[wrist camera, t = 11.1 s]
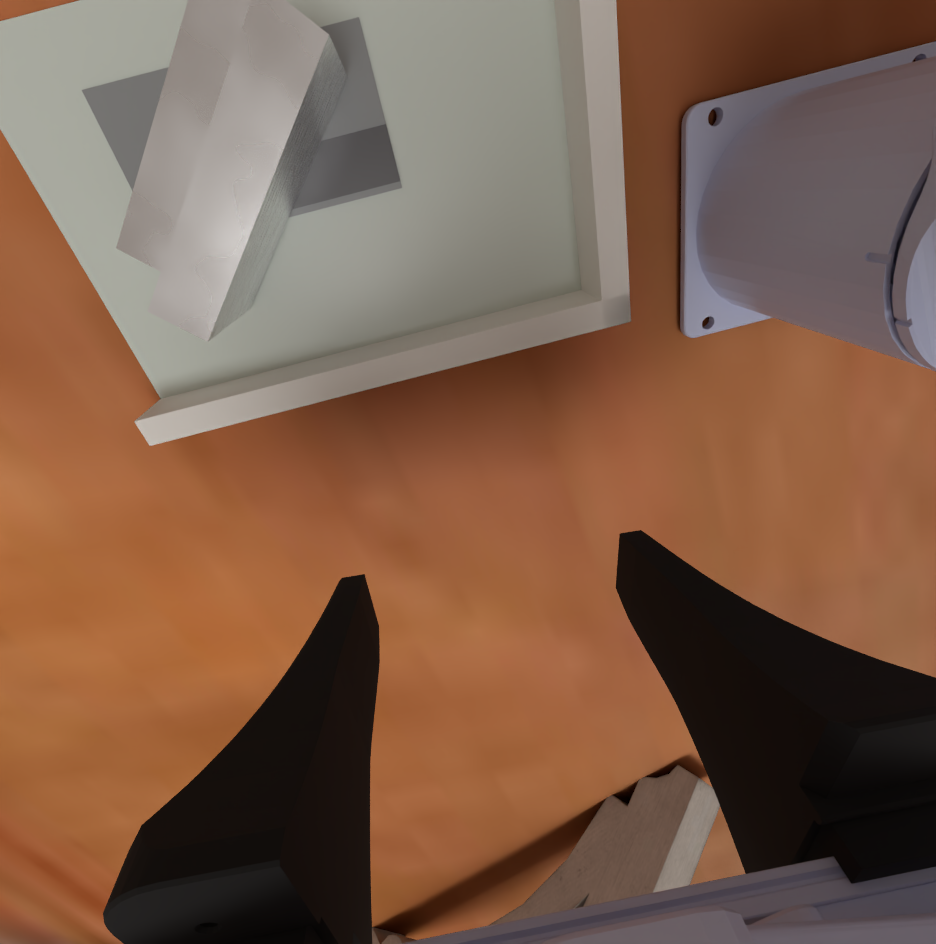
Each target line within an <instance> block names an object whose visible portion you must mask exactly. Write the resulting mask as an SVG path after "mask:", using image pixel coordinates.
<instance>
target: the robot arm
mask: <svg viewBox="0 0 936 944" xmlns="http://www.w3.org/2000/svg"><path fill="white" fill-rule="evenodd" d="M914 58H915V60H916V61H915V62H912V61H913V60H914ZM712 109H714V110H715V111H716V115H717V118H716V122H715V123H714V124H713V126H711V125H710V124H709V122H708V116H709V113H710V112H711V110H712ZM708 316H709V322H708V324H707V325H706V326H704V327H702V322H703V320H704V319H705V318H706V317H708ZM769 318H776V319H779V320H782V321H785V322H788V323H791V324H794V325H797V326H800V327H804V328H807V329H810V330H813V331H816V332H819V333H822V334H825V335H828V336H831V337H834V338H837V339H840V340H843V341H846V342H849V343H852V344H855V345H858V346H861V347H864V348H867V349H870V350H873V351H877V352H880V353H883V354H886V355H889V356H892V357H895V358H898V359H901V360H904V361H907V362H910V363H913V364H916V365H919V366H922V367H925V368H928V369H931V370H933V371H936V41H935V42H931V43H927V44H923V45H920V46H916V47H912V48H908V49H904V50H900V51H897V52H893V53H889V54H885V55H881V56H877V57H874V58H870V59H866V60H862V61H858V62H854V63H851V64H847V65H843V66H839V67H835V68H831V69H828V70H824V71H820V72H816V73H812V74H808V75H805V76H801V77H797V78H793V79H789V80H785V81H782V82H778V83H774V84H770V85H766V86H762V87H759V88H755V89H751V90H747V91H743V92H740V93H736V94H732V95H728V96H724V97H720V98H717V99H713V100H709V101H705V102H701V103H698V104H695V105H693V106H691V107H690V108H689V109H688V110H687V111H686V113H685V115H684V117H683V120H682V138H681V291H680V328H681V332H682V333H683V334H684V335H686V336H688V337H690V338H696V337H700V336H703V335H707V334H711V333H715V332H719V331H723V330H727V329H731V328H735V327H738V326H742V325H746V324H750V323H754V322H758V321H762V320H766V319H769ZM616 589H617V592H618V594H619V597H620V599H621V602H622V604H623V607H624V609H625V611H626V614H627V616H628V618H629V620H630V622H631V624H632V626H633V628H634V629H635V631H636V633H637V635H638V636H639V638H640V640H641V642H642V644H643V645H644V647H645V649H646V651H647V652H648V654H649V656H650V658H651V659H652V661H653V663H654V664H655V666H656V668H657V670H658V671H659V673H660V675H661V677H662V678H663V680H664V682H665V684H666V685H667V687H668V689H669V691H670V693H671V695H672V696H673V698H674V700H675V702H676V704H677V706H678V708H679V711H680V713H681V715H682V717H683V719H684V722H685V724H686V726H687V728H688V731H689V733H690V735H691V737H692V739H693V742H694V744H695V746H696V749H697V751H698V753H699V756H700V758H701V760H702V763H703V765H704V767H705V770H706V772H707V774H708V777H709V779H710V782H711V784H712V787H713V789H714V792H715V794H716V797H717V799H718V802H719V804H720V807H721V809H722V812H723V814H724V817H725V819H726V822H727V824H728V827H729V830H730V832H731V835H732V838H733V840H734V843H735V846H736V849H737V851H738V854H739V857H740V859H741V862H742V865H743V867H744V870H745V873H746V874H743V875H738V876H733V877H728V878H723V879H718V880H713V881H708V882H703V883H698V884H693V885H688V886H684V887H679V888H674V889H669V890H664V891H659V892H654V893H649V894H644V895H639V896H634V897H629V898H624V899H619V900H614V901H609V902H604V903H599V904H594V905H589V906H584V907H579V908H574V909H569V910H564V911H559V912H555V913H550V914H545V915H540V916H535V917H530V918H525V919H520V920H515V921H510V922H505V923H500V924H495V925H490V926H485V927H480V928H475V929H470V930H465V931H460V932H455V933H450V934H445V935H440V936H435V937H430V938H426V939H421V940H416V941H411V942H406V943H401V944H936V678H935V677H931V676H928V675H925V674H922V673H919V672H916V671H913V670H910V669H906V668H903V667H900V666H897V665H894V664H891V663H888V662H884V661H882V660H879V659H876V658H873V657H871V656H868V655H865V654H862V653H860V652H857V651H854V650H852V649H849V648H846V647H844V646H841V645H839V644H836V643H834V642H832V641H829V640H827V639H824V638H822V637H820V636H817V635H815V634H813V633H811V632H808V631H806V630H804V629H802V628H799V627H797V626H795V625H793V624H791V623H789V622H787V621H784V620H782V619H780V618H778V617H776V616H774V615H773V614H771V613H769V612H767V611H765V610H763V609H761V608H759V607H757V606H755V605H753V604H752V603H750V602H748V601H746V600H744V599H743V598H741V597H739V596H738V595H736V594H734V593H733V592H731V591H729V590H728V589H726V588H724V587H723V586H721V585H719V584H718V583H716V582H715V581H713V580H712V579H710V578H708V577H707V576H705V575H704V574H702V573H701V572H699V571H698V570H696V569H695V568H693V567H692V566H691V565H689V564H688V563H686V562H685V561H683V560H682V559H680V558H679V557H678V556H676V555H675V554H673V553H672V552H671V551H669V550H668V549H666V548H665V547H664V546H662V545H661V544H660V543H658V542H657V541H655V540H654V539H653V538H651V537H650V536H648V535H647V534H646V533H644V532H643V531H641V530H639V531H633V532H627V533H621V534H620V538H619V551H618V565H617V578H616ZM379 662H380V660H379V625H378V621H377V618H376V614H375V611H374V607H373V603H372V600H371V596H370V593H369V589H368V585H367V582H366V578H365V575H364V574H363V575H357V576H351V577H345V578H342V579H341V580H340V581H339V583H338V585H337V587H336V589H335V591H334V593H333V595H332V597H331V599H330V601H329V603H328V605H327V606H326V608H325V610H324V612H323V614H322V616H321V617H320V619H319V621H318V623H317V624H316V626H315V628H314V630H313V631H312V633H311V635H310V636H309V638H308V640H307V641H306V643H305V645H304V646H303V648H302V649H301V651H300V652H299V654H298V655H297V657H296V658H295V660H294V662H293V663H292V665H291V666H290V668H289V669H288V671H287V672H286V673H285V675H284V676H283V678H282V679H281V680H280V682H279V683H278V685H277V686H276V687H275V689H274V690H273V691H272V693H271V694H270V695H269V696H268V698H267V699H266V700H265V702H264V703H263V704H262V705H261V707H260V708H259V709H258V710H257V711H256V713H255V714H254V715H253V716H252V717H251V719H250V720H249V721H248V722H247V723H246V725H245V726H244V727H243V728H242V729H241V730H240V731H239V733H238V734H237V735H236V736H235V737H234V738H233V739H232V740H231V741H230V743H229V744H228V745H227V746H226V747H225V748H224V749H223V750H222V751H221V752H220V753H219V754H218V755H217V756H216V757H215V758H214V759H213V760H212V761H211V762H210V763H209V764H208V765H207V766H206V767H205V768H204V769H203V770H202V771H201V772H200V773H199V774H198V775H197V776H196V777H195V778H194V779H193V780H192V781H191V782H190V783H189V784H188V785H187V786H186V787H184V788H183V789H182V790H181V791H180V792H179V793H178V794H177V795H176V796H174V797H173V798H172V799H171V800H170V801H169V802H168V803H167V804H165V805H164V806H163V807H162V808H161V809H160V810H159V811H158V812H156V813H155V814H154V815H153V816H152V817H151V818H150V819H148V820H147V821H146V822H145V823H144V824H143V825H142V826H141V828H140V830H139V832H138V834H137V836H136V838H135V840H134V842H133V844H132V846H131V848H130V850H129V852H128V854H127V857H126V859H125V861H124V864H123V866H122V868H121V871H120V873H119V876H118V878H117V881H116V883H115V886H114V888H113V890H112V893H111V895H110V898H109V900H108V903H107V905H106V907H105V910H104V912H103V917H104V923H105V925H106V927H107V928H108V930H109V931H110V932H111V933H112V934H113V935H114V936H115V937H116V938H118V939H119V940H120V941H121V942H123V943H124V944H372V918H371V876H370V756H371V741H372V732H373V722H374V712H375V703H376V693H377V683H378V673H379Z"/></svg>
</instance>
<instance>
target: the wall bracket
mask: <svg viewBox="0 0 936 944" xmlns="http://www.w3.org/2000/svg"><path fill="white" fill-rule="evenodd" d="M719 807H720V804H719V802H718V799H717V797H716V794H715V792H714V789H713V788H712V787H711V786H709V785H708V784H707V783H705V782H704V781H703V780H701V779H700V778H698V777H697V776H695V775H694V774H692V773H690V772H689V771H687V770H686V769H684V768H682V767H681V766H679V765H677V766H676V767H675V768H674V769H673V770H672V771H671V772H670V773H669V774H667V775H664V776H661V777H658V778H651V777H644V778H642V779H640V780H639V781H638V784H637V786H636V788H635V790H634V793H633V795H632V797H631V799H630V802H629V804H627V803H625V802H624V801H622V800H620V799H618V798H617V797H615V796H613V795H611V796H609V797H607V798H606V799H605V801H604V803H603V804H602V806H601V807H600V809H599V810H598V812H597V813H596V815H595V817H594V818H593V820H592V821H591V823H590V824H589V826H588V827H587V829H586V830H585V832H584V834H583V835H582V837H581V838H580V840H579V841H578V843H577V844H576V846H575V848H574V849H573V851H572V852H571V854H570V855H569V857H568V858H567V860H566V861H565V862H564V863H563V864H562V865H561V866H560V867H559V868H558V869H557V870H556V871H555V872H554V873H553V874H552V875H551V876H550V877H549V878H548V879H547V880H546V881H545V882H544V883H543V884H542V885H541V886H540V887H539V888H538V889H537V890H536V891H535V892H534V893H533V894H532V895H531V896H530V897H529V898H528V899H527V900H526V901H525V902H524V903H523V904H522V905H521V906H519V907H518V908H516V909H514V910H513V911H511V912H509V913H508V914H506V915H505V916H503V917H501V918H500V919H498V920H496V921H495V922H493V923H492V924H490V925H495V924H500V923H505V922H510V921H515V920H520V919H525V918H530V917H535V916H540V915H545V914H550V913H555V912H559V911H564V910H569V909H574V908H579V907H584V906H589V905H594V904H599V903H604V902H609V901H614V900H619V899H624V898H629V897H634V896H639V895H644V894H649V893H654V892H659V891H664V890H669V889H674V888H679V887H684V886H688V885H690V883H691V880H692V877H693V875H694V872H695V870H696V867H697V864H698V862H699V859H700V857H701V854H702V851H703V849H704V846H705V844H706V841H707V838H708V836H709V833H710V831H711V828H712V825H713V823H714V820H715V818H716V815H717V812H718V810H719ZM490 925H488V926H490ZM411 941H416V940H415V939H411V938H407V937H406V936H405V935H401V934H397V933H394V932H390V931H386V930H382V929H378V928H374V927H372V944H401V943H406V942H411Z"/></svg>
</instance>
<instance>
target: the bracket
mask: <svg viewBox="0 0 936 944" xmlns="http://www.w3.org/2000/svg"><path fill="white" fill-rule="evenodd" d="M347 77H348V76H347V74H346V72H345V69H344V67H343V65H342V63H341V60H340V58H339V56H338V54H337V51H336V49H335V47H334V45H333V42H332V40H331V38H330V36H329V34H328V33H326V32H325V31H324V30H323V29H321V28H320V27H319V26H318V25H316V24H315V23H314V22H312V21H311V20H310V19H309V18H307V17H306V16H305V15H304V14H302V13H301V12H300V11H299V10H297V9H296V8H295V7H293V6H292V5H291V4H290V3H288V2H287V1H286V0H188V2H187V6H186V9H185V12H184V16H183V19H182V23H181V26H180V30H179V33H178V37H177V40H176V43H175V47H174V50H173V54H172V57H171V61H170V64H169V68H168V71H167V74H166V78H165V81H164V85H163V88H162V92H161V95H160V98H159V102H158V105H157V109H156V112H155V116H154V119H153V123H152V126H151V129H150V133H149V136H148V140H147V143H146V147H145V150H144V154H143V157H142V160H141V164H140V167H139V171H138V174H137V178H136V181H135V185H134V188H133V191H132V195H131V198H130V202H129V205H128V209H127V212H126V215H125V219H124V222H123V226H122V229H121V233H120V236H119V240H118V243H117V246H116V248H117V249H119V250H121V251H122V252H124V253H126V254H128V255H130V256H132V257H134V258H136V259H137V260H139V261H141V262H143V263H145V264H147V265H149V266H151V267H153V268H154V269H156V270H158V271H160V272H161V273H160V276H159V279H158V282H157V285H156V288H155V291H154V294H153V297H152V300H151V303H150V306H149V309H148V312H149V313H151V314H153V315H155V316H157V317H159V318H161V319H163V320H165V321H167V322H169V323H171V324H173V325H175V326H177V327H179V328H181V329H183V330H185V331H187V332H189V333H191V334H193V335H195V336H197V337H199V338H201V339H203V340H205V341H207V342H208V341H209V340H211V339H212V338H213V337H215V336H216V335H217V334H219V333H220V332H221V331H223V330H224V329H225V328H226V327H228V326H229V325H230V324H232V323H233V322H234V321H236V320H237V319H238V318H240V317H241V316H242V315H244V314H245V313H246V312H247V311H249V310H250V309H251V306H252V304H253V302H254V299H255V297H256V294H257V292H258V290H259V287H260V285H261V282H262V280H263V278H264V275H265V273H266V271H267V268H268V266H269V263H270V261H271V259H272V256H273V254H274V251H275V249H276V247H277V244H278V242H279V240H280V237H281V235H282V232H283V230H284V228H285V225H286V223H287V220H288V218H289V216H290V213H291V211H292V209H293V206H294V204H295V201H296V199H297V197H298V194H299V192H300V190H301V187H302V185H303V182H304V180H305V178H306V175H307V173H308V170H309V168H310V166H311V163H312V161H313V159H314V156H315V154H316V151H317V149H318V147H319V144H320V142H321V139H322V137H323V135H324V132H325V130H326V128H327V125H328V123H329V120H330V118H331V116H332V113H333V111H334V108H335V106H336V104H337V101H338V99H339V97H340V94H341V92H342V89H343V87H344V85H345V82H346V80H347Z"/></svg>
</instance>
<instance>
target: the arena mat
mask: <svg viewBox="0 0 936 944" xmlns="http://www.w3.org/2000/svg"><path fill="white" fill-rule="evenodd" d="M286 1H287V2H288V3H290V4H291V5H292V6H293V7H295V8H296V9H297V10H299V11H300V12H301V13H302V14H304V15H305V16H306V17H307V18H309V19H310V20H311V21H312V22H314V23H315V24H316V25H318V26H319V27H320V28H321V29H323V30H324V31H325V32H326V33H328V34H329V36H330V38H331V40H332V42H333V45H334V47H335V49H336V51H337V54H338V56H339V58H340V60H341V63H342V65H343V67H344V69H345V72H346V74H347V76H348V77H347V80H346V82H345V85H344V87H343V89H342V92H341V94H340V97H339V99H338V101H337V104H336V106H335V108H334V111H333V113H332V116H331V118H330V120H329V123H328V125H327V128H326V130H325V132H324V135H323V137H322V139H321V142H320V144H319V147H318V149H317V151H316V154H315V156H314V159H313V161H312V163H311V166H310V168H309V170H308V173H307V175H306V178H305V180H304V182H303V185H302V187H301V190H300V192H299V194H298V197H297V199H296V201H295V204H294V206H293V209H292V211H291V213H290V216H289V218H288V220H287V223H286V225H285V228H284V230H283V232H282V235H281V237H280V240H279V242H278V244H277V247H276V249H275V251H274V254H273V256H272V259H271V261H270V263H269V266H268V268H267V271H266V273H265V275H264V278H263V280H262V282H261V285H260V287H259V290H258V292H257V294H256V297H255V299H254V302H253V304H252V306H251V309H250V310H249V311H247V312H246V313H245V314H244V315H242V316H241V317H240V318H238V319H237V320H236V321H234V322H233V323H232V324H230V325H229V326H228V327H226V328H225V329H224V330H223V331H221V332H220V333H219V334H217V335H216V336H215V337H213V338H212V339H211V340H209V341H208V342H207V341H205V340H203V339H201V338H199V337H197V336H195V335H193V334H191V333H189V332H187V331H185V330H183V329H181V328H179V327H177V326H175V325H173V324H171V323H169V322H167V321H165V320H163V319H161V318H159V317H157V316H155V315H153V314H151V313H149V312H148V309H149V306H150V303H151V300H152V297H153V294H154V291H155V288H156V285H157V282H158V279H159V276H160V273H161V272H160V271H158V270H156V269H154V268H153V267H151V266H149V265H147V264H145V263H143V262H141V261H139V260H137V259H136V258H134V257H132V256H130V255H128V254H126V253H124V252H122V251H121V250H119V249H117V248H116V246H117V243H118V240H119V236H120V233H121V229H122V226H123V222H124V219H125V215H126V212H127V209H128V205H129V202H130V198H131V195H132V191H133V188H134V185H135V181H136V178H137V174H138V171H139V167H140V164H141V160H142V157H143V154H144V150H145V147H146V143H147V140H148V136H149V133H150V129H151V126H152V123H153V119H154V116H155V112H156V109H157V105H158V102H159V98H160V95H161V92H162V88H163V85H164V81H165V78H166V74H167V71H168V68H169V64H170V61H171V57H172V54H173V50H174V47H175V43H176V40H177V37H178V33H179V30H180V26H181V23H182V19H183V16H184V12H185V9H186V6H187V2H188V0H79V1H75V2H72V3H68V4H64V5H60V6H56V7H53V8H49V9H45V10H41V11H38V12H34V13H30V14H26V15H22V16H19V17H15V18H11V19H7V20H4V21H0V129H1V131H2V133H3V134H4V136H5V138H6V139H7V141H8V143H9V144H10V146H11V148H12V149H13V151H14V153H15V154H16V156H17V158H18V159H19V161H20V163H21V164H22V166H23V168H24V170H25V171H26V173H27V175H28V176H29V178H30V180H31V181H32V183H33V185H34V186H35V188H36V190H37V191H38V193H39V195H40V196H41V198H42V200H43V201H44V203H45V205H46V207H47V208H48V210H49V212H50V213H51V215H52V217H53V218H54V220H55V222H56V223H57V225H58V227H59V228H60V230H61V232H62V233H63V235H64V237H65V238H66V240H67V242H68V244H69V245H70V247H71V249H72V250H73V252H74V254H75V255H76V257H77V259H78V260H79V262H80V264H81V265H82V267H83V269H84V270H85V272H86V274H87V275H88V277H89V279H90V281H91V282H92V284H93V286H94V287H95V289H96V291H97V292H98V294H99V296H100V297H101V299H102V301H103V302H104V304H105V306H106V307H107V309H108V311H109V312H110V314H111V316H112V318H113V319H114V321H115V323H116V324H117V326H118V328H119V329H120V331H121V333H122V334H123V336H124V338H125V339H126V341H127V343H128V344H129V346H130V348H131V349H132V351H133V353H134V355H135V356H136V358H137V360H138V361H139V363H140V365H141V366H142V368H143V370H144V371H145V373H146V375H147V376H148V378H149V380H150V381H151V383H152V385H153V386H154V388H155V390H156V392H157V393H158V395H159V397H160V398H161V399H162V398H166V397H170V396H173V395H177V394H181V393H185V392H189V391H193V390H197V389H201V388H204V387H208V386H212V385H216V384H220V383H224V382H228V381H231V380H235V379H239V378H243V377H247V376H251V375H255V374H258V373H262V372H266V371H270V370H274V369H278V368H282V367H285V366H289V365H293V364H297V363H301V362H305V361H309V360H313V359H316V358H320V357H324V356H328V355H332V354H336V353H340V352H343V351H347V350H351V349H355V348H359V347H363V346H367V345H370V344H374V343H378V342H382V341H386V340H390V339H394V338H397V337H401V336H405V335H409V334H413V333H417V332H421V331H425V330H428V329H432V328H436V327H440V326H444V325H448V324H452V323H455V322H459V321H463V320H467V319H471V318H475V317H479V316H482V315H486V314H490V313H494V312H498V311H502V310H506V309H509V308H513V307H517V306H521V305H525V304H529V303H533V302H537V301H540V300H544V299H548V298H552V297H556V296H560V295H564V294H567V293H571V292H575V291H579V290H582V289H581V278H580V268H579V257H578V247H577V236H576V226H575V215H574V205H573V194H572V184H571V173H570V163H569V152H568V142H567V131H566V121H565V110H564V100H563V89H562V79H561V68H560V58H559V47H558V37H557V26H556V16H555V5H554V0H286Z"/></svg>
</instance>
